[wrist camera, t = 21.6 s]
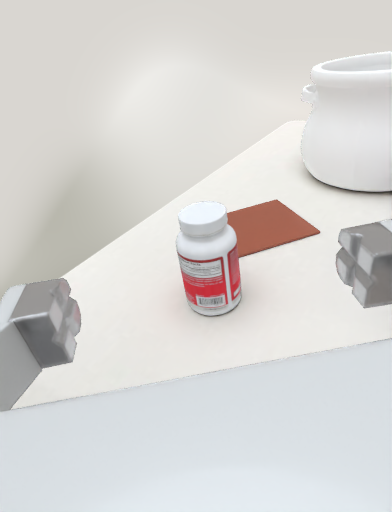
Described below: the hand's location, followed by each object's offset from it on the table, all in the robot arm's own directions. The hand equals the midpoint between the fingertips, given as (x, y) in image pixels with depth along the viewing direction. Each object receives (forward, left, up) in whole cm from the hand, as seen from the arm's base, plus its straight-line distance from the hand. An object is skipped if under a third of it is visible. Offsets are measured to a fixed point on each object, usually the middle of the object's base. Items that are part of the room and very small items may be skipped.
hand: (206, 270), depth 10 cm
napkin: (+17, +32, -20) cm, 41 cm away
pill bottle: (+6, +20, -20) cm, 29 cm away
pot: (+44, +40, -20) cm, 62 cm away
